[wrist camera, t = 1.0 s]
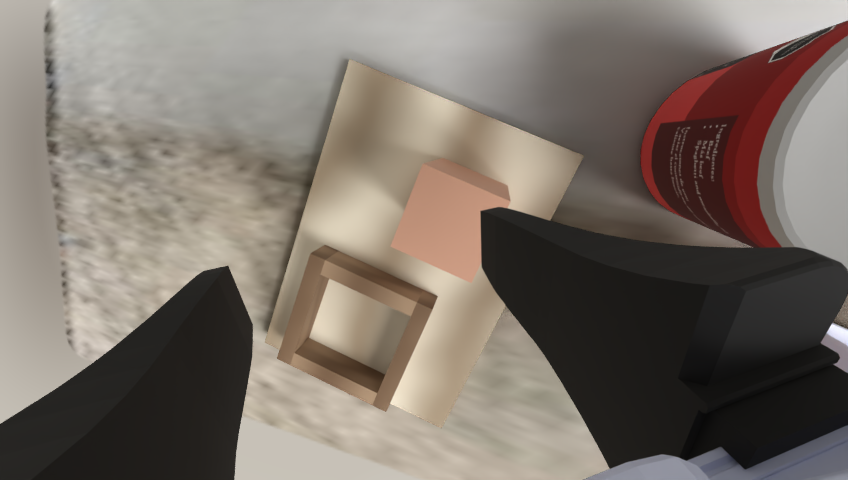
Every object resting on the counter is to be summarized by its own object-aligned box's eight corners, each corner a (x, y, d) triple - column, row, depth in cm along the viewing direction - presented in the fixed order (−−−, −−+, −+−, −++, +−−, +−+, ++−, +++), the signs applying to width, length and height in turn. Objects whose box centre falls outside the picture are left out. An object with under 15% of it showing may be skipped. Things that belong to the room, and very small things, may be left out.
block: (507, 185, 21) (510, 201, 16) (478, 247, 22) (471, 283, 17) (442, 157, 22) (422, 163, 16) (417, 220, 23) (390, 246, 17)
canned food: (844, 107, 18) (1300, 61, 8) (730, 244, 21) (962, 348, 10) (700, 35, 19) (955, -100, 8) (605, 178, 21) (707, 214, 11)
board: (580, 155, 21) (592, 157, 18) (443, 418, 27) (437, 450, 24) (355, 62, 22) (334, 50, 19) (272, 335, 28) (247, 357, 25)
